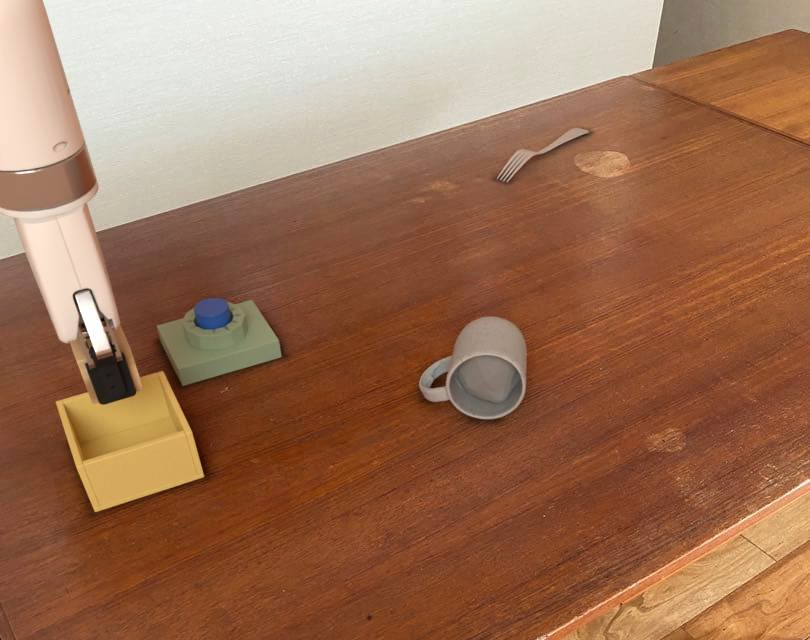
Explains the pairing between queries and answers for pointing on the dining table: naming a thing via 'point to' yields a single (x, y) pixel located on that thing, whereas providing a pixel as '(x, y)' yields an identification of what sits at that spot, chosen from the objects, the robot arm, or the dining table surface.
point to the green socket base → (218, 344)
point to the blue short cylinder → (212, 313)
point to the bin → (130, 443)
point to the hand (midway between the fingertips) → (111, 380)
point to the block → (124, 349)
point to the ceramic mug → (482, 370)
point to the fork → (564, 138)
